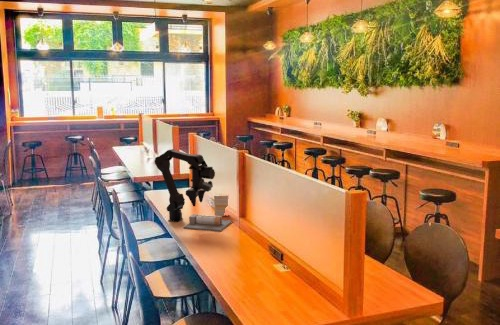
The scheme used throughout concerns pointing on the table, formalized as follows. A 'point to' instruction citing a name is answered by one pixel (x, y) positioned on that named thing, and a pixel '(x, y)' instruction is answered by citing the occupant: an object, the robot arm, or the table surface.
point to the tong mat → (205, 225)
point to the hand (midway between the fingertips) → (197, 204)
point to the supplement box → (220, 204)
